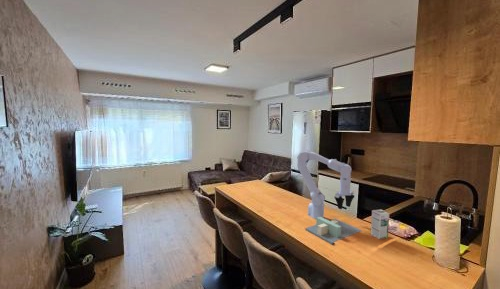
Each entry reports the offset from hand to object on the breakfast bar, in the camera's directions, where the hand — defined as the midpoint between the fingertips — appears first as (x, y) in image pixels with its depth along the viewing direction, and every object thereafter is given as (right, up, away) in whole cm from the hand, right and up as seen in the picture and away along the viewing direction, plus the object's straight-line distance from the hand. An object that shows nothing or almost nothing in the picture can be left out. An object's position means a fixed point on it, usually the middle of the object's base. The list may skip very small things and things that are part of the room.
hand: (344, 207), depth 135 cm
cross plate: (-13, -10, -11) cm, 20 cm away
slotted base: (-9, -11, -8) cm, 16 cm away
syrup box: (+13, -12, -14) cm, 23 cm away
